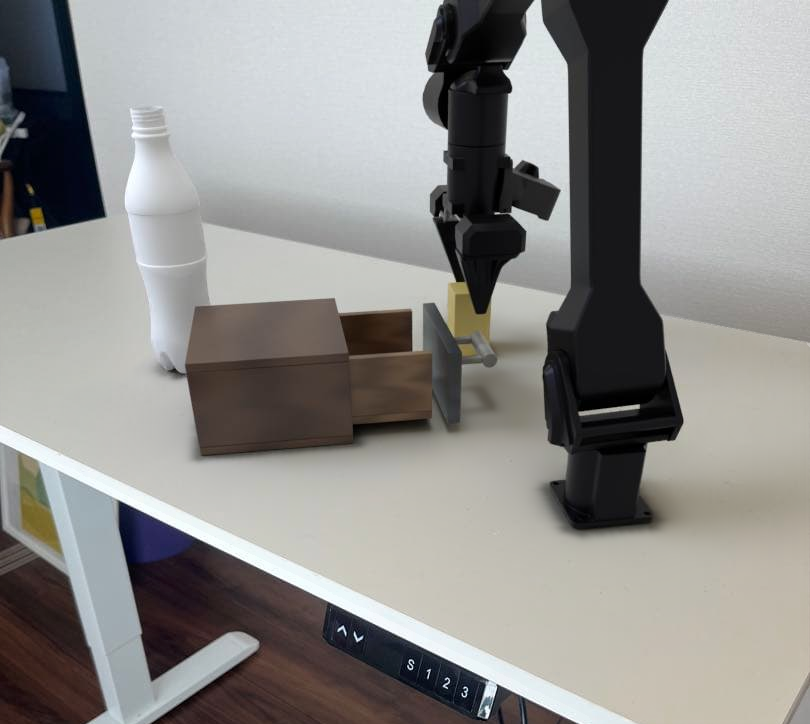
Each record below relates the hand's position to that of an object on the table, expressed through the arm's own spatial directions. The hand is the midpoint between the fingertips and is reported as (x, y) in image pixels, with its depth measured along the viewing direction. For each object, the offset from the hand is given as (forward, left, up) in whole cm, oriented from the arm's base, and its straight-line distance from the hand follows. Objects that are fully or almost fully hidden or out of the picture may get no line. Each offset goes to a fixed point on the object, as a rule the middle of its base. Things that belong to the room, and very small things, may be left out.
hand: (471, 299), depth 89 cm
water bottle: (+1, +31, -6) cm, 32 cm away
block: (0, 0, -6) cm, 6 cm away
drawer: (-13, +9, -5) cm, 17 cm away
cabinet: (-13, +22, -6) cm, 26 cm away
